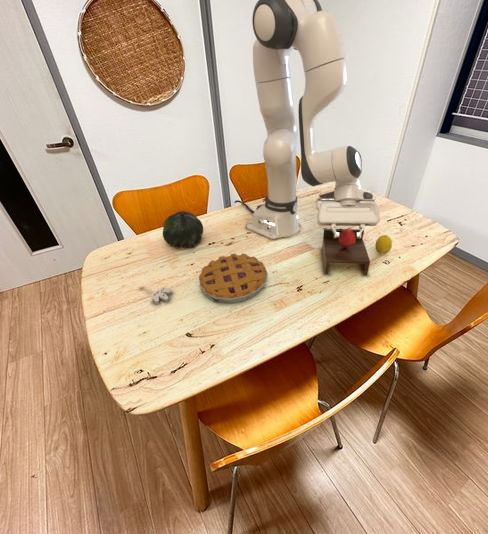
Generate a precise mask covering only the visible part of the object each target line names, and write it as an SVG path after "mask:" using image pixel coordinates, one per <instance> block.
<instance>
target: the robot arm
mask: <svg viewBox="0 0 488 534" xmlns="http://www.w3.org/2000/svg"><path fill="white" fill-rule="evenodd" d="M252 11H253V12H252V17H251V19H252V21H251V22H252V23H251V24H252V29H253V33H254V36H255V40H254V42H253V44H252V65H253V76H254V83H255V88H256V94H257V95H256V96H257V100H258V106H259V112H260V114H261V116H262V119H263V122H264V126H265V128H266V129H265V131H266V134H267V136H266V137H267V138H266V139H265V140H264V142H263V147H262V157H263V160H264V167H265V173H266V178H267V179H266V180H267V195H266V196H265V197H263V199H262V204H259V205H256V209H255V211H254V210H253V209H251V208H250V207H249V206H248V204H246V203H245V202H243V201H241V200H238V199H237V200H235V201H233V202H234V204H236V203H240V204H241V205H243V206H245V207H246V209H247V210H249V212H251V214H252V217H251V219H250V220H249V221H248V222H247V225H246V228H247V230H250V231H251V232H253V233H256V234H259V235H261V236H264V237H266V238H268V239H271V240H276V239H279V238H288V237H292V236H294V235H296V234H298V233H299V232H300V225H299V220H298V219H299V216H298V214H297V213H298V212H297V211H298V196H297V183H298V182H297V181H298V180H297V179H298V176H297V152H298V148H299V144H300V174H301V178H302V181H303V182H305V183H306V184H307V185H309V186H311V187H316V186H320V185H324V184H328V183H332V182H334V183H335V186H334V190H333V191H334V198H321V199H320V198H319V199H320V200H319V199H318V200H316V210H317V211H318V212H317V218H316V223H317V225H318V226H322V227H323V226H325V227H327V226H328V227H330V229H331V230H332V232H333V233H334V238H336V239H338V238H339V232H336V230H335V229H336V227H358V229H361V230H360V232H359V233H356V239H361V233H362V231H363V230H364V229H365V228H366V227H376V226H377V225H378V224H379V223H380V219H381V218H380V217H381V216H380V215H381V214H380V208H379V204H378V203H377V202H376V199H377V195H376V193H373V192H370V191H366V190H363V189H362V186H361V178H362V172H363V161H362V156H361V154H360V151H359V150H357V149H356V148H355V147H353V146H351V145H345V146H339V147H336V148H333V149H329V150H324V151H320V152H318V151H316V137H315V136H316V135H315V123H316V120H317V118H318V117H319V115H320V114H321V113H323V111H324V110H326V108H328V107H329V106H331V105H332V104H333V103H334V102H335V101H336V100H337V99H338V98H339V97H340V96H341V94H343V92H344V90H345V88H346V85H347V80H348V71H347V61H346V54H345V47H344V42H343V38H342V35H341V31H340V27H339V24H338V21H337V19H336V16H335V15H334V14H333V13H332V12H331V11H328V10H323V9H322V5H321V3H320V2H319V0H257V2H256V3H255V6H254V7H253V10H252ZM293 50H295V51H297V52H298V53H299V55H300V58H301V62H302V68H303V73H304V79H305V81H304V82H305V83H304V91H303V95H302V96H301V97H300V98H299V101H298V109H297V111H298V113H297V114H298V123H297V117H296V112H295V106H294V96H293V87H292V85H293V84H292V76H291V70H290V55H291V53H292V52H293ZM364 231H365V230H364Z"/></svg>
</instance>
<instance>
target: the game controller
mask: <svg viewBox="0 0 488 534" xmlns="http://www.w3.org/2000/svg"><path fill="white" fill-rule="evenodd" d="M140 289H141V290H143V289H144V290H145V291H147V292H148V290H147V289H146V288H144V287H141V288H140ZM151 292H152V295H151V301H152V302H153V303H155V304H156V305H158V304H160V300H161V301H164V302H169V301H170V299H169V296H168V295H170V294H171V289H169V288H168V287H161V288H159V289H158V290H156V291H153V290H151Z"/></svg>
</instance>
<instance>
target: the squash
mask: <svg viewBox="0 0 488 534" xmlns="http://www.w3.org/2000/svg"><path fill="white" fill-rule="evenodd" d="M162 227H163V228H162V239H163V240H164V242H166V244H168V245H169V246H171V247H174V248H176V249H179V248H182V249H184V248H186V247H187V248H188V249H189V248H190V249H192V248H194V247H195V246H196V245H199V243H200V242H201V241H202V237H203V233H204V225H203V223H202V221H201V220H200V219H199V218H198V217H197V216H196V215H195V214H194V213H192V212H189V211H185V210H182V211H181V210H180V211H178V212H175V213H173V214H171V215H169V216H167V218H165V220H164V222H163V226H162Z"/></svg>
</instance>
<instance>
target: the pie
mask: <svg viewBox="0 0 488 534" xmlns="http://www.w3.org/2000/svg"><path fill="white" fill-rule="evenodd" d="M268 275H269V273H268V271H267V268H266V265H264V263H263V261H260V260H259V259H258V258H257V257H255V256H254V255H253V256H249V255H248V254H246V253H241V254H236V253H231V254H230V255H227V256H226V255H225V256H224V255H222V256H219V257H218V259H215V260H213V259H212V260H211V261H209V263H208V264H207V265H204V266H203V267H202V269H201V271H200V274H199V277H198V278H199V287H200V288H201V290H202V291H203V292H204V294H206V295H208V296H209V297H211V298H212V299H213V300H216V301H217V302H218V303H224V304H225V303H226V304H233V303H237V302H242V301H246V300H248V299H250V298H252V297H254V296H256V295H257V294H258V293H259V292H261V290H262V289H263V287H264V286H265V285H266V284H267V279H268Z"/></svg>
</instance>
